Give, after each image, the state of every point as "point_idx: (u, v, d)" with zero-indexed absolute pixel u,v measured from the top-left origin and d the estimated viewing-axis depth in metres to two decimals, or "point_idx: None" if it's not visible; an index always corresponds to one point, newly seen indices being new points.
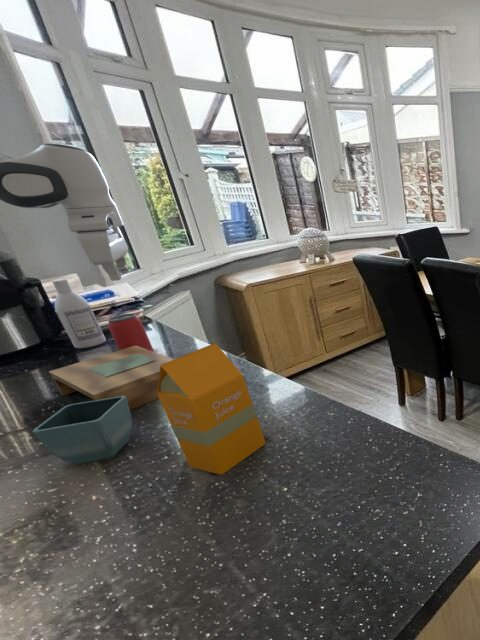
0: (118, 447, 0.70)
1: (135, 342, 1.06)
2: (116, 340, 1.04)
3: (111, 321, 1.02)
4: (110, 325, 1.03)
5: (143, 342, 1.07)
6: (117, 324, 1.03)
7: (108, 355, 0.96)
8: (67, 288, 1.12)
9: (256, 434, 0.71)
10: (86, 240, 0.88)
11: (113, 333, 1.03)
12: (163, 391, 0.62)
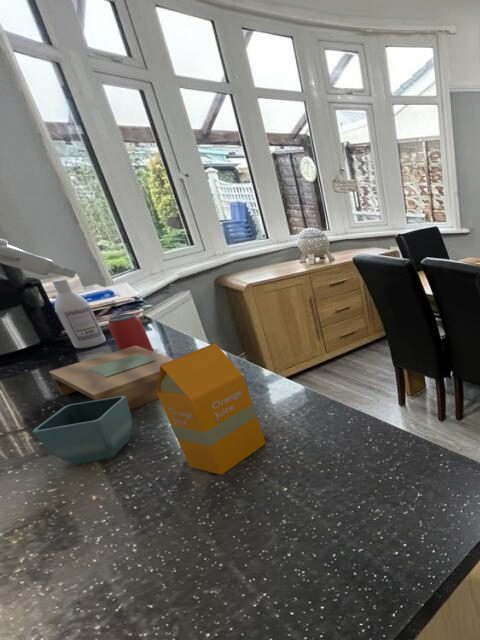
0: (118, 447, 0.70)
1: (135, 342, 1.05)
2: (116, 340, 1.04)
3: (111, 321, 1.02)
4: (110, 325, 1.03)
5: (143, 342, 1.07)
6: (117, 324, 1.03)
7: (108, 355, 0.96)
8: (67, 288, 1.12)
9: (256, 434, 0.71)
10: None
11: (113, 333, 1.03)
12: (163, 391, 0.62)
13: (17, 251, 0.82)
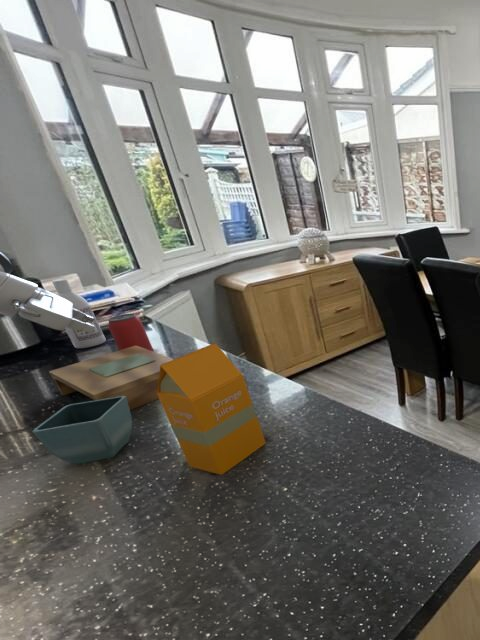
0: (118, 447, 0.70)
1: (135, 342, 1.05)
2: (116, 340, 1.04)
3: (111, 321, 1.02)
4: (110, 325, 1.03)
5: (143, 342, 1.07)
6: (117, 324, 1.03)
7: (108, 355, 0.96)
8: (67, 288, 1.12)
9: (256, 434, 0.71)
10: None
11: (113, 333, 1.03)
12: (163, 391, 0.62)
13: (40, 308, 0.88)
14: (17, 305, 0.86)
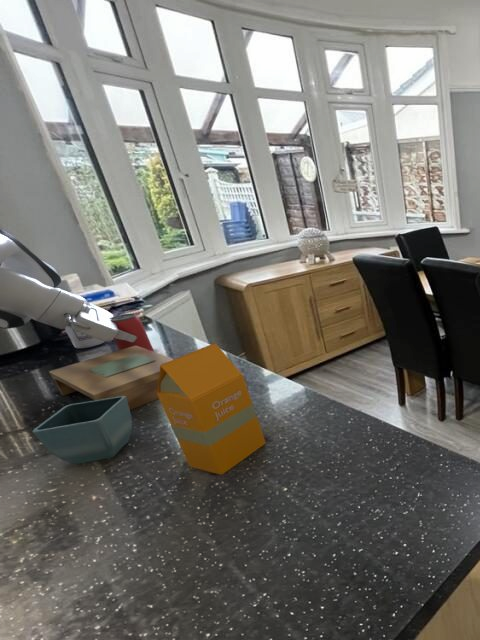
0: (118, 447, 0.70)
1: (135, 342, 1.06)
2: (116, 340, 1.04)
3: None
4: None
5: (143, 342, 1.07)
6: (117, 324, 1.03)
7: (108, 355, 0.96)
8: (67, 288, 1.12)
9: (256, 434, 0.71)
10: None
11: None
12: (163, 391, 0.62)
13: (90, 321, 0.94)
14: (70, 319, 0.92)
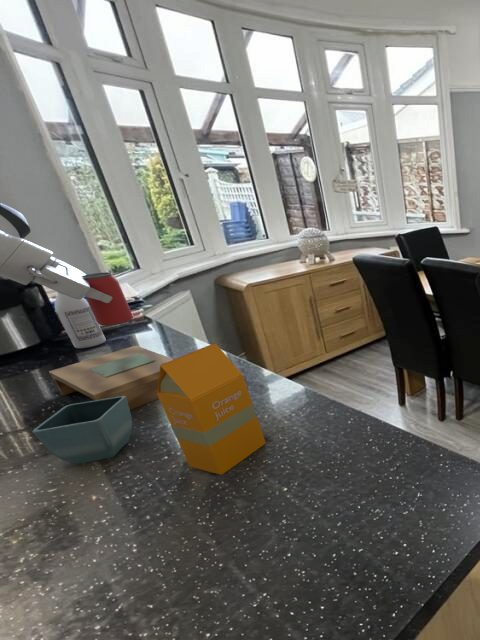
0: (118, 447, 0.70)
1: (111, 303, 0.95)
2: (89, 301, 0.93)
3: None
4: None
5: (120, 304, 0.96)
6: (90, 282, 0.92)
7: (108, 355, 0.96)
8: None
9: (256, 434, 0.71)
10: None
11: None
12: (163, 391, 0.62)
13: (57, 274, 0.83)
14: (33, 270, 0.81)
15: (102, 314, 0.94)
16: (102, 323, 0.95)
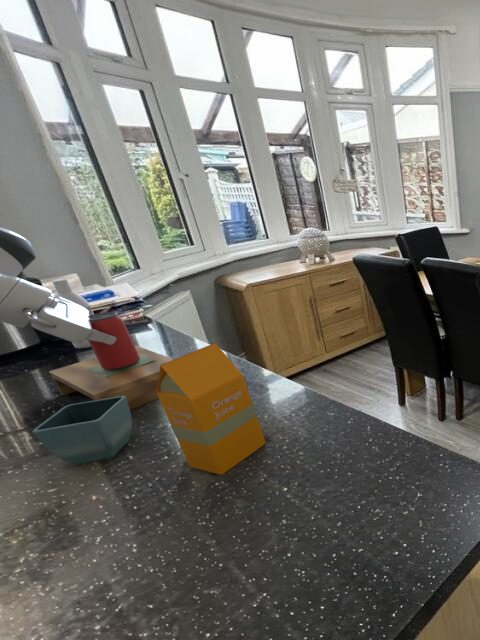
0: (118, 447, 0.70)
1: (116, 346, 0.87)
2: (92, 344, 0.85)
3: None
4: None
5: (126, 346, 0.89)
6: (93, 324, 0.84)
7: None
8: (67, 288, 1.12)
9: (256, 434, 0.71)
10: None
11: None
12: (163, 391, 0.62)
13: (55, 318, 0.75)
14: (29, 315, 0.73)
15: (107, 358, 0.87)
16: (107, 367, 0.88)
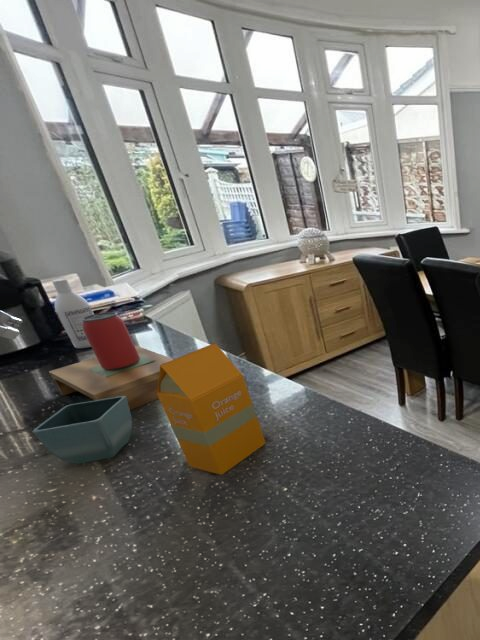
0: (118, 447, 0.70)
1: (116, 346, 0.87)
2: (92, 344, 0.85)
3: (86, 321, 0.84)
4: (85, 326, 0.84)
5: (126, 346, 0.89)
6: (93, 324, 0.84)
7: None
8: (67, 288, 1.12)
9: (256, 434, 0.71)
10: None
11: (89, 336, 0.85)
12: (163, 391, 0.62)
13: None
14: None
15: (107, 358, 0.87)
16: (107, 367, 0.88)
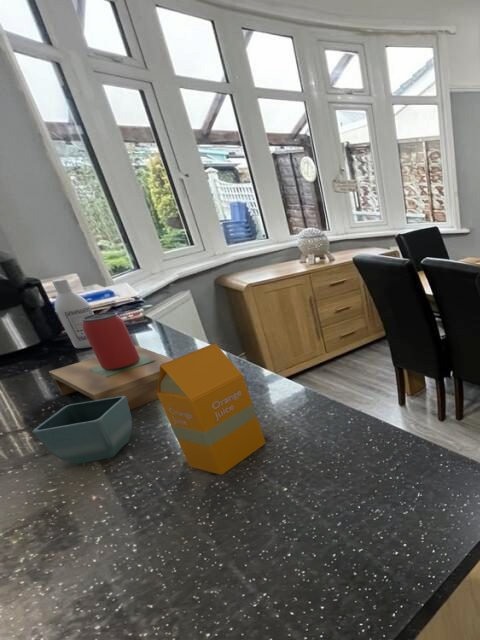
0: (118, 447, 0.70)
1: (116, 346, 0.87)
2: (92, 344, 0.85)
3: (86, 321, 0.84)
4: (85, 326, 0.84)
5: (125, 346, 0.89)
6: (93, 324, 0.84)
7: None
8: (67, 288, 1.12)
9: (256, 434, 0.71)
10: None
11: (89, 336, 0.85)
12: (163, 391, 0.62)
13: None
14: None
15: (107, 358, 0.87)
16: (107, 367, 0.88)
